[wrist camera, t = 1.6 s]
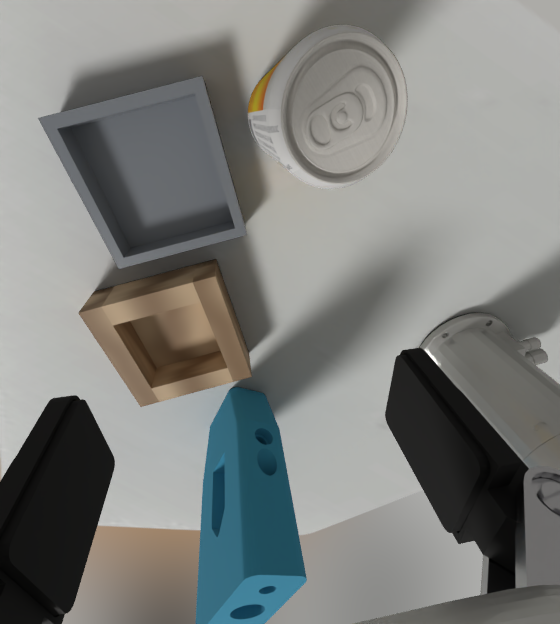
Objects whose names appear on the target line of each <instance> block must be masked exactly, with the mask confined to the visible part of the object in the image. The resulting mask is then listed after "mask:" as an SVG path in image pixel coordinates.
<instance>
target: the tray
mask: <svg viewBox="0 0 560 624" xmlns="http://www.w3.org/2000/svg"><path fill="white" fill-rule="evenodd" d="M38 119H39V121H40V123H41V125H42V127H43V128H44V130H45V132H46V134H47V136H48V138H49V140H50V142H51V143H52V145H53V147H54V149H55V151H56V153H57V155H58V156H59V158H60V160H61V162H62V164H63V166H64V168H65V170H66V171H67V173H68V175H69V177H70V179H71V181H72V183H73V184H74V186H75V188H76V190H77V192H78V194H79V196H80V198H81V199H82V201H83V203H84V205H85V207H86V209H87V211H88V212H89V214H90V216H91V218H92V220H93V222H94V224H95V226H96V227H97V229H98V231H99V233H100V235H101V237H102V239H103V240H104V242H105V244H106V246H107V248H108V250H109V252H110V254H111V255H112V257H113V259H114V261H115V263H116V265H117V267H118V268H119V269H121V268H125V267H128V266H132V265H136V264H140V263H143V262H147V261H151V260H155V259H159V258H162V257H166V256H170V255H174V254H177V253H181V252H185V251H189V250H192V249H196V248H200V247H204V246H208V245H211V244H215V243H219V242H223V241H226V240H230V239H234V238H238V237H241V236H245V235H247V233H246V228H245V223H244V220H243V216H242V213H241V209H240V206H239V202H238V199H237V195H236V191H235V188H234V184H233V181H232V177H231V174H230V170H229V166H228V163H227V159H226V156H225V152H224V149H223V145H222V142H221V138H220V134H219V131H218V127H217V124H216V120H215V117H214V113H213V110H212V106H211V102H210V99H209V95H208V92H207V88H206V85H205V81H204V79H203V77H202V76H200V77H196V78H192V79H188V80H184V81H180V82H176V83H173V84H169V85H165V86H161V87H157V88H153V89H149V90H145V91H141V92H138V93H134V94H130V95H126V96H122V97H118V98H114V99H110V100H107V101H103V102H99V103H95V104H91V105H87V106H83V107H79V108H75V109H72V110H68V111H64V112H60V113H56V114H52V115H48V116H44V117H40V118H38Z"/></svg>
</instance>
